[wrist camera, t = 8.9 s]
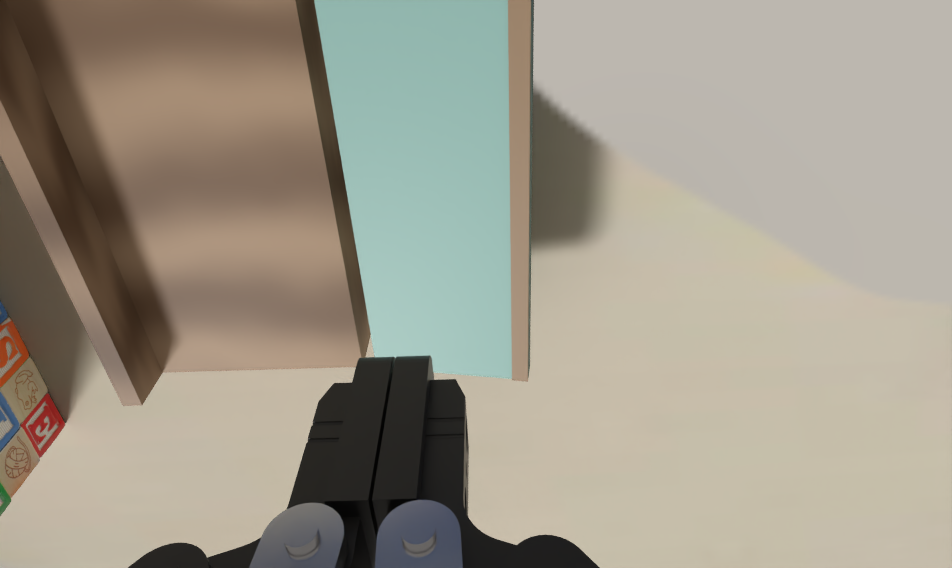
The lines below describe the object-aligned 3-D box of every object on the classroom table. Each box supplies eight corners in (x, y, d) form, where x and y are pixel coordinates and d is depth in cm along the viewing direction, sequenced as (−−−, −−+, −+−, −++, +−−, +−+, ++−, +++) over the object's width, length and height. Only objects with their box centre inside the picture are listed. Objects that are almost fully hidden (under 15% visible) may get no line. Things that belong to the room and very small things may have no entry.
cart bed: (6, -104, 25) (-123, -97, 20) (301, -118, 25) (252, -115, 19) (174, 328, 37) (122, 405, 32) (373, 322, 37) (355, 399, 32)
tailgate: (296, -100, 21) (531, -110, 20) (309, -101, 22) (534, -111, 21) (375, 368, 33) (527, 381, 31) (382, 354, 34) (529, 366, 32)
